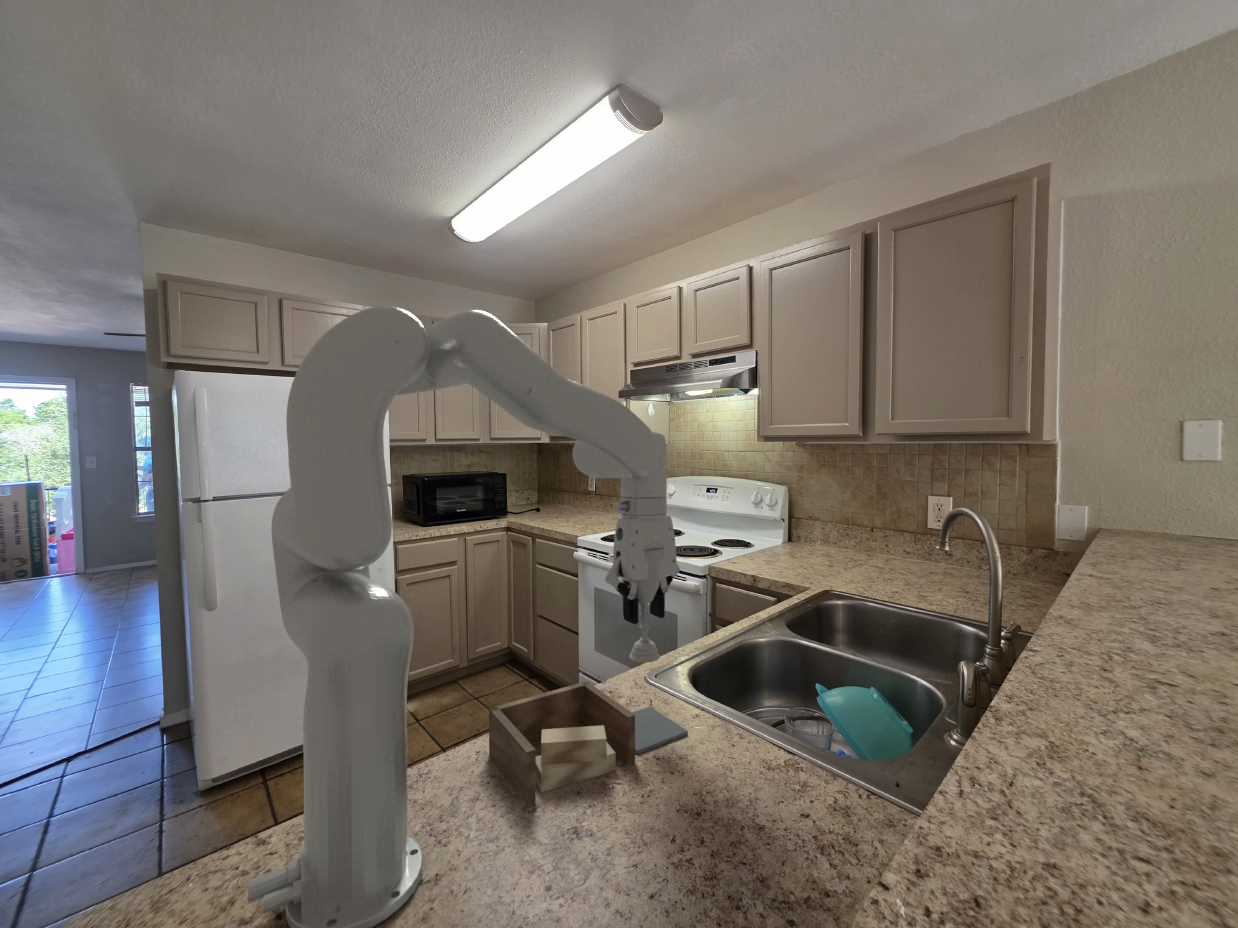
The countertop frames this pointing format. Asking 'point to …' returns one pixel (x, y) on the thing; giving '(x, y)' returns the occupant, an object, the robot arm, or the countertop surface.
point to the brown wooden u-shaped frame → (551, 710)
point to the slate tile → (654, 729)
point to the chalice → (645, 594)
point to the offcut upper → (573, 745)
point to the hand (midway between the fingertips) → (644, 617)
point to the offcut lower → (572, 771)
